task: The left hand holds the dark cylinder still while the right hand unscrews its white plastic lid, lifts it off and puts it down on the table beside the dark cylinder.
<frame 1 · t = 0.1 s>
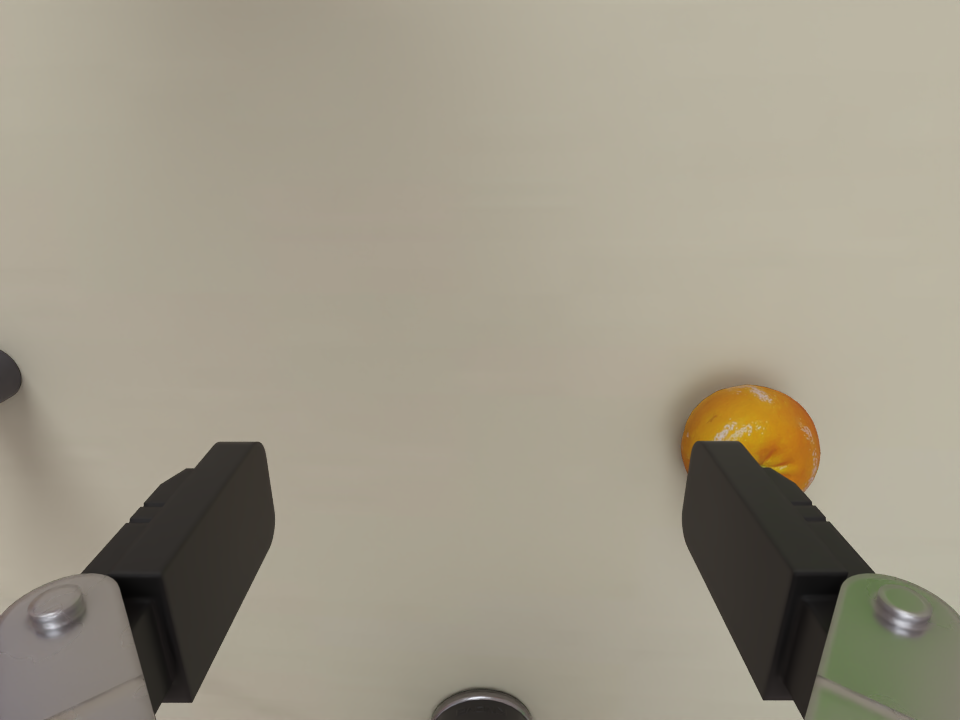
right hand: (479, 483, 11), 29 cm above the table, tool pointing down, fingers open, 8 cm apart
fruit: (727, 424, 44), on the table
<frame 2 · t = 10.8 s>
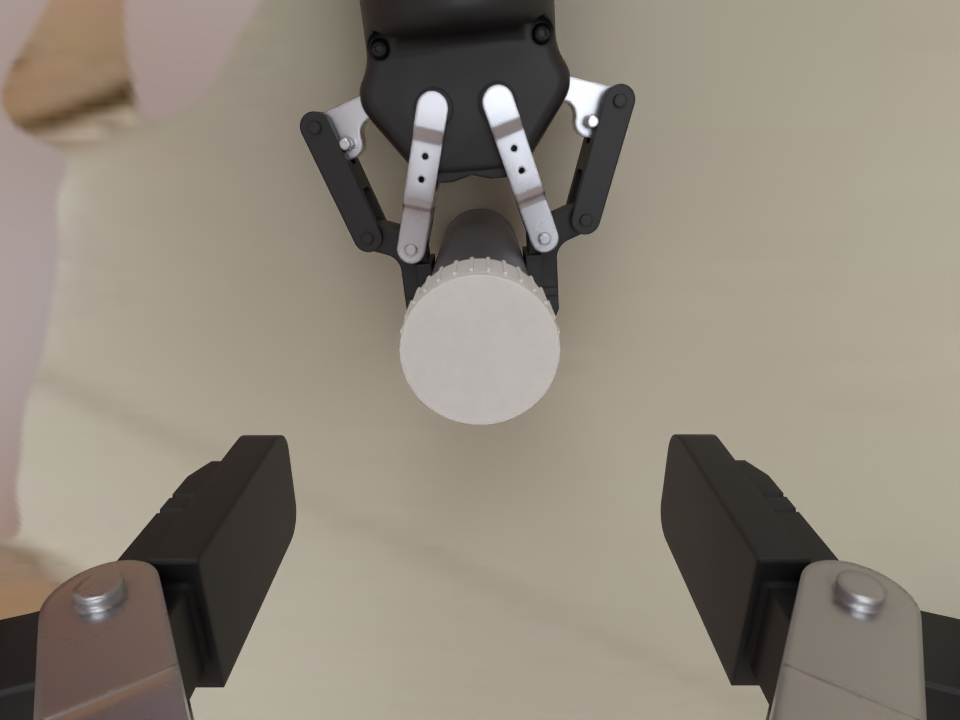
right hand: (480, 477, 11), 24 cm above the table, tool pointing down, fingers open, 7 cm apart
left hand: (485, 330, 28), fingers closed on dark cylinder, 4 cm apart
dark cylinder: (480, 246, 33), on the table, touching left hand
lid: (479, 349, 18), point 17 cm above the table, screwed on, not yet turned
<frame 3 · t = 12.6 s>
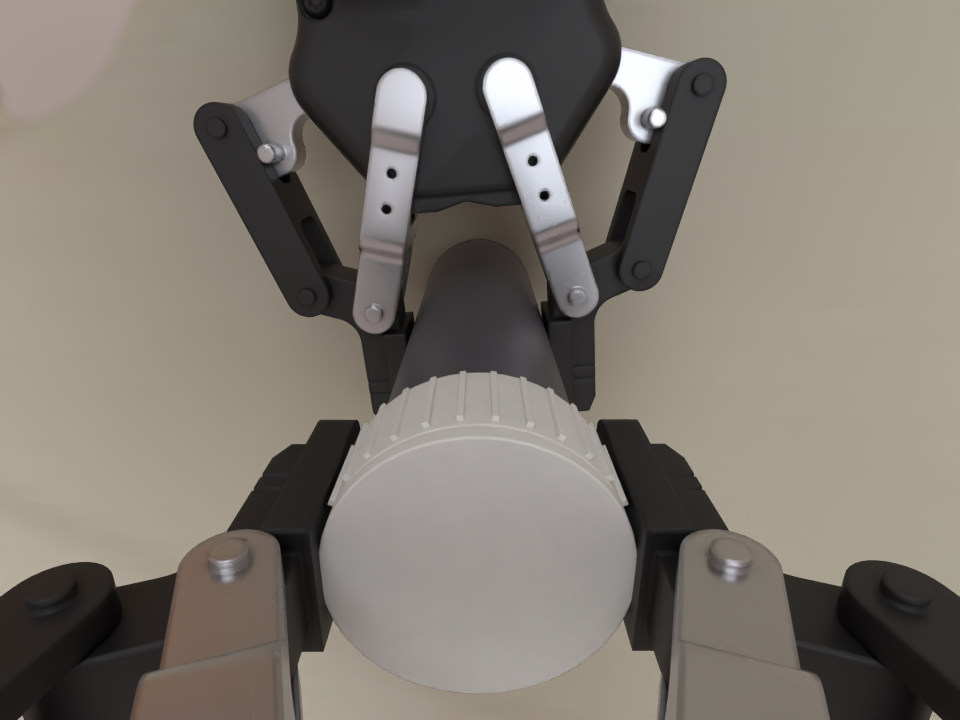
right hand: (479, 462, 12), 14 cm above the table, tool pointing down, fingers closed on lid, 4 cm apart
left hand: (486, 422, 19), fingers closed on dark cylinder, 4 cm apart
dark cylinder: (479, 289, 25), on the table, touching left hand
lid: (478, 562, 9), point 17 cm above the table, screwed on, not yet turned, touching right hand
when the right hand's fingers open (14 cm above the table, at t = 14.3 s): lid stays where it is, point 17 cm above the table.
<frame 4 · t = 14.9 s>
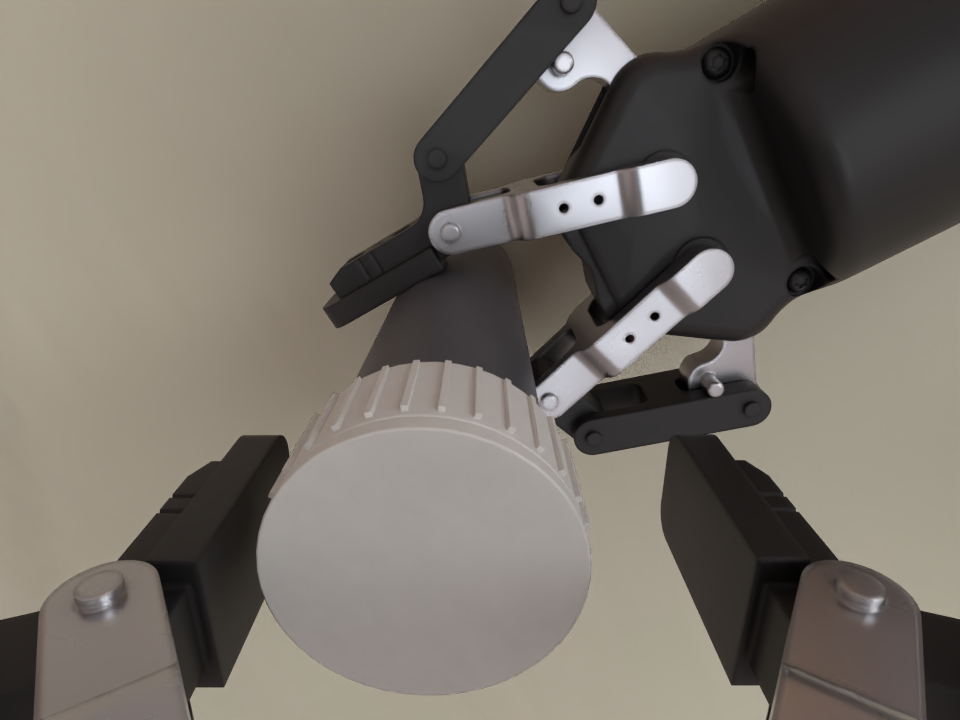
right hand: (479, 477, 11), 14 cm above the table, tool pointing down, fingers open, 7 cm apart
left hand: (381, 374, 19), fingers closed on dark cylinder, 4 cm apart
dark cylinder: (462, 279, 24), on the table, touching left hand
lid: (425, 559, 9), point 17 cm above the table, turned 89° so far, risen 0.2 cm, still on its thread
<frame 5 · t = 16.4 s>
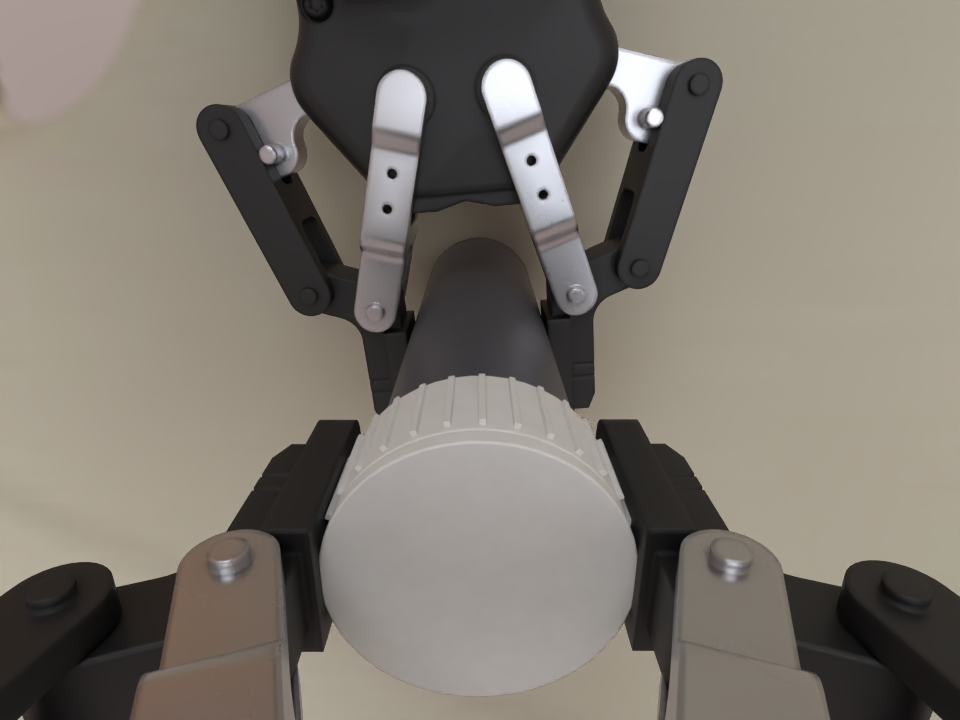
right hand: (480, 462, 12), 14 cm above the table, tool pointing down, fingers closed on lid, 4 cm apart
left hand: (487, 419, 20), fingers closed on dark cylinder, 4 cm apart
dark cylinder: (479, 288, 25), on the table, touching left hand
lid: (478, 566, 9), point 17 cm above the table, turned 88° so far, risen 0.2 cm, still on its thread, touching right hand
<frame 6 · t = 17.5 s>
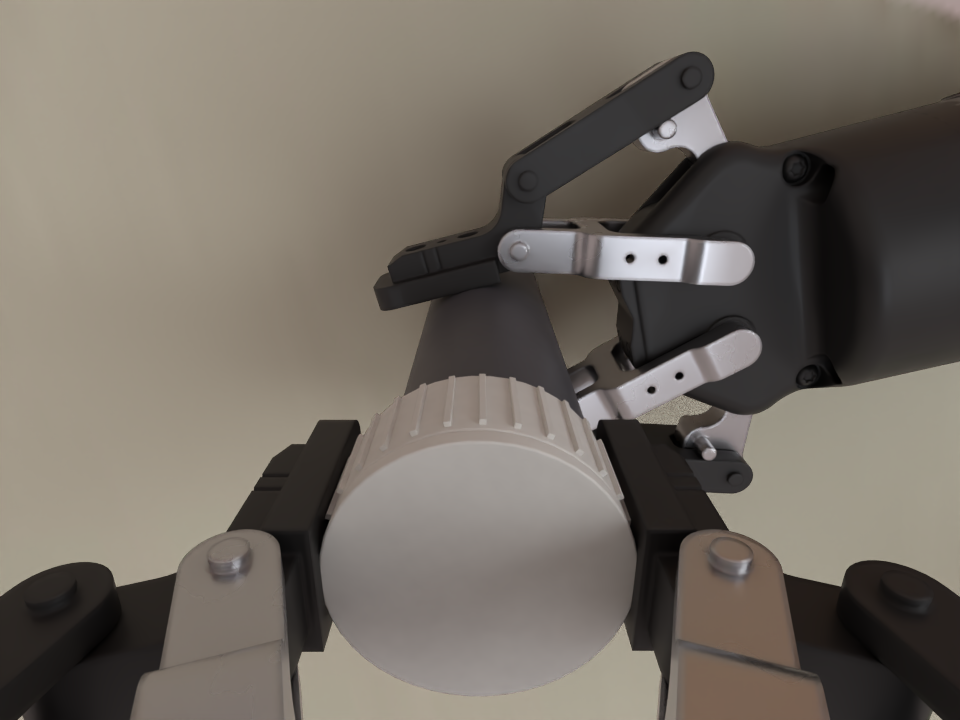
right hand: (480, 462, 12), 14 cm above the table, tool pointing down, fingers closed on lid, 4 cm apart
left hand: (405, 363, 19), fingers closed on dark cylinder, 4 cm apart
dark cylinder: (486, 289, 25), on the table, touching right hand, left hand
lid: (478, 566, 9), point 17 cm above the table, off its thread, touching right hand
when the right hand's fingers open (1 cm above the table, at t = 23.7 s): lid drops 2 cm, point 2 cm above the table.
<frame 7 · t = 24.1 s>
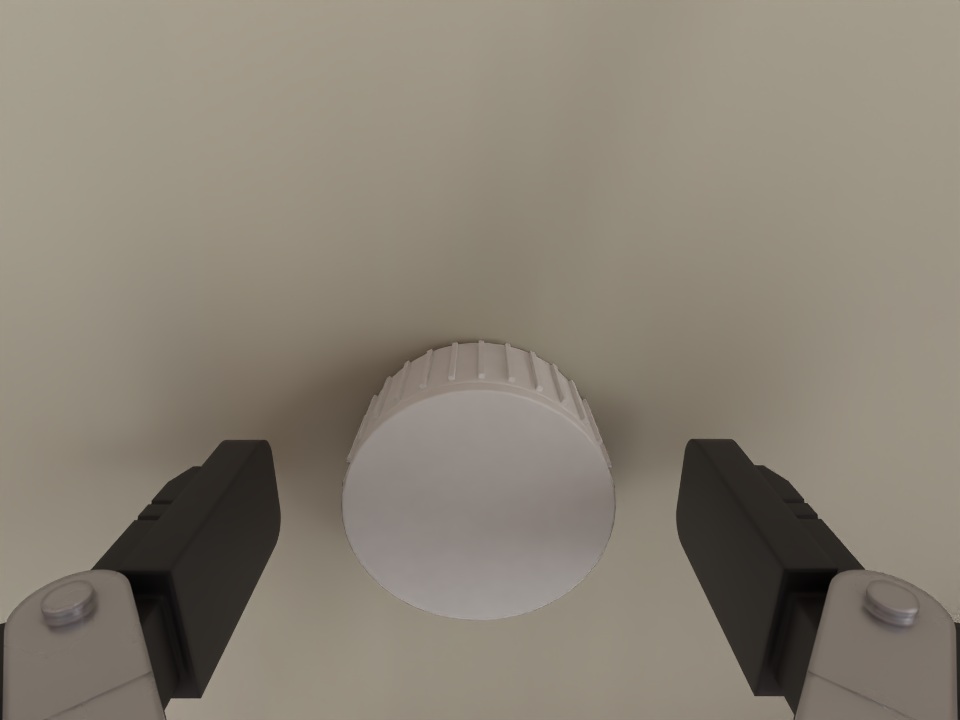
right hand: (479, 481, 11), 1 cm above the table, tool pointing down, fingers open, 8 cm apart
lid: (478, 503, 11), point 2 cm above the table, off its thread
when the left hand's fingers open (7 cm above the table, at t = 24.8 s): dark cylinder stays where it is, on the table.
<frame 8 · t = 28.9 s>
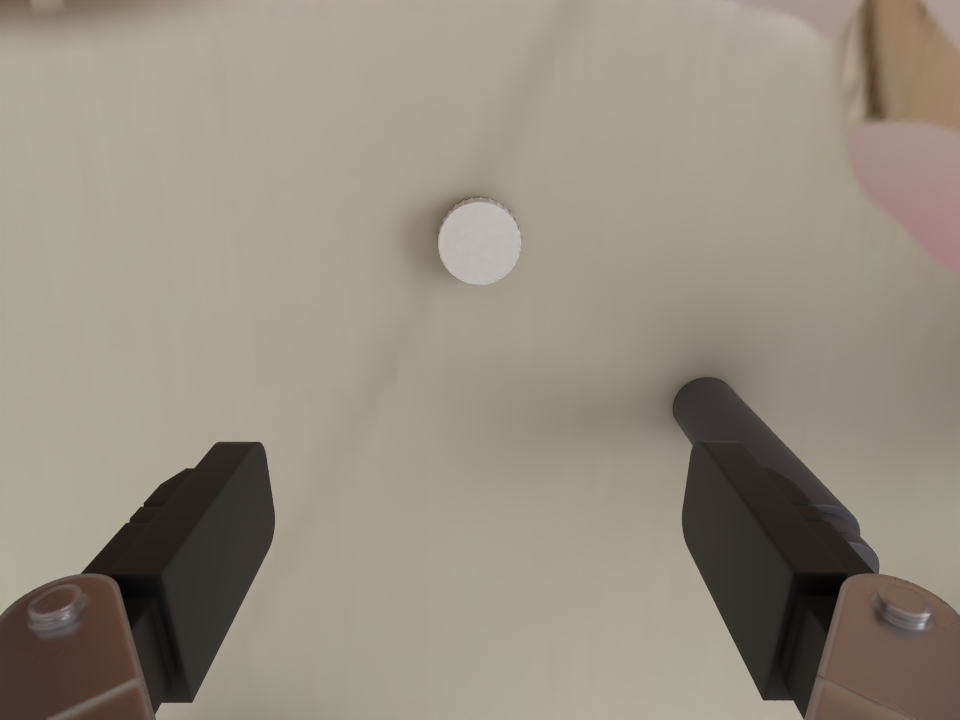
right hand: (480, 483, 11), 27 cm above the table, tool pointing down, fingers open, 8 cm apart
dark cylinder: (703, 405, 41), on the table
lid: (479, 243, 35), point 2 cm above the table, off its thread
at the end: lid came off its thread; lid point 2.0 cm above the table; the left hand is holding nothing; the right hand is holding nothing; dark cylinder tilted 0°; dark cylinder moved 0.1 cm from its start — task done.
